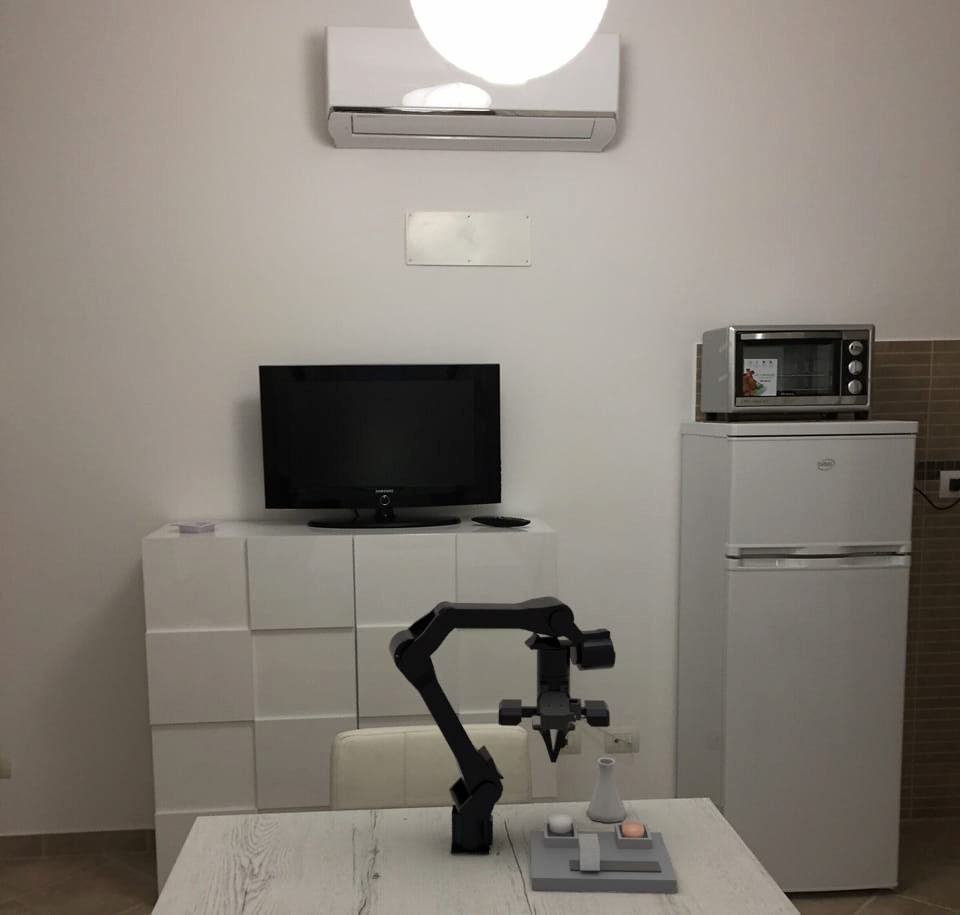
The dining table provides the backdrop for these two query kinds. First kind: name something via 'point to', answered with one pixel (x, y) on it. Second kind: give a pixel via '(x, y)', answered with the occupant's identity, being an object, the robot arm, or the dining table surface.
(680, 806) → the dining table surface
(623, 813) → the flask
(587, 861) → the rough gray brick
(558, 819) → the grey button
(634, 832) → the terracotta button
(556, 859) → the panel
